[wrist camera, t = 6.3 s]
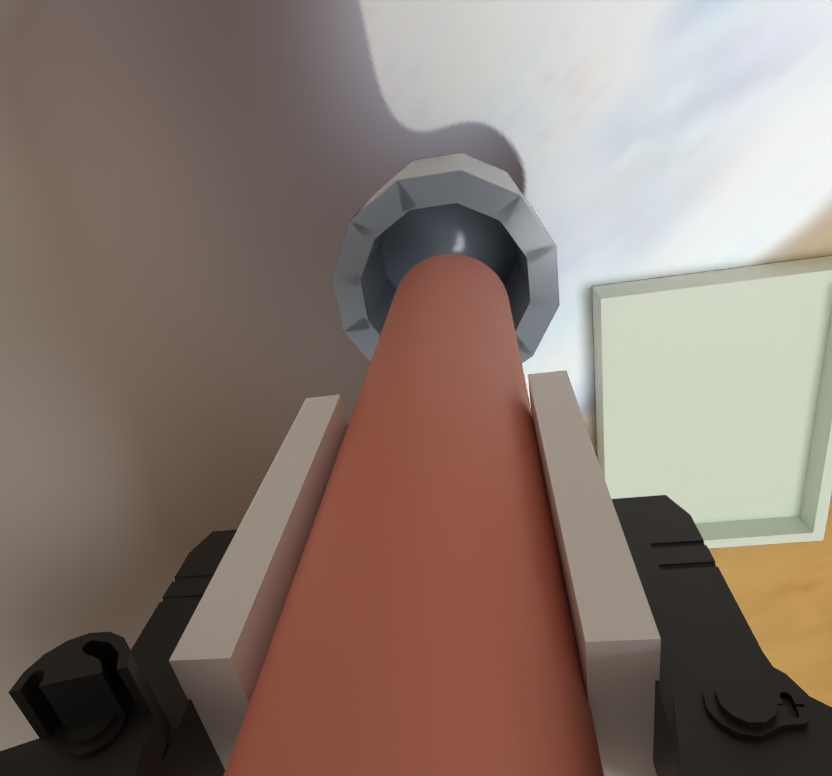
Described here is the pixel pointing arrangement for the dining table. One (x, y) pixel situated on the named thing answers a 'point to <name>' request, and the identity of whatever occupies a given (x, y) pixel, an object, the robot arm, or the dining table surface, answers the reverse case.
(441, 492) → the dowel
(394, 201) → the crock
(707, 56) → the dining table surface
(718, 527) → the tray
